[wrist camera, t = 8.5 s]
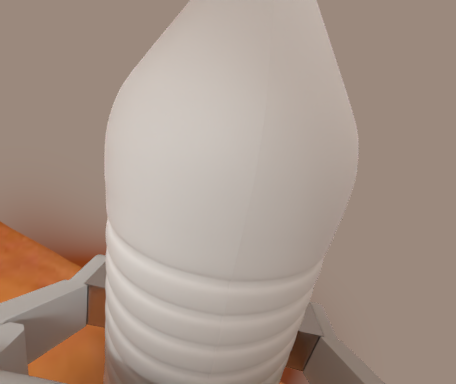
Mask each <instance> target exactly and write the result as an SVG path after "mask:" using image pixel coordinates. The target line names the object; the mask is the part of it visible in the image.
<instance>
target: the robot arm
mask: <svg viewBox="0 0 456 384" xmlns="http://www.w3.org/2000/svg"><path fill="white" fill-rule="evenodd" d="M105 281H106V256H105V255H100V254H99V255H97V256H95V257H94V258H93V259H92V260H91V261H89V262H88V263H87V264H86V265H85V266H84V267H83V268H82V269H81V270H80V271H79V272H78V273H76V274H75V275H74V276H73V277H72V278H71V279H70V280H69V281H68V280H63V281H60V282H57V283H55V284H52V285H49V286H46V287H44V288H41V289H38V290H36V291H33V292H30V293H27V294H25V295H22V296H19V297H17V298H14V299H11V300H8V301H6V302H3V303H0V384H66V383H62V382H57V381H52V380H48V379H43V378H38V377H33V376H29V374H28V364H29V363H31V362H32V361H34V360H35V359H37V358H38V357H40V356H41V355H43V354H44V353H46V352H47V351H49V350H50V349H52V348H53V347H55V346H57V345H58V344H60V343H61V342H63V341H64V340H66V339H67V338H69V337H70V336H72V335H73V334H75V333H76V332H78V331H79V330H81V329H82V328H84V327H85V326H86V324H88V325H93V326H98V327H104V328H105V321H106V317H105V302H106V292H105ZM285 367H287V368H292V369H296V370H299V371H303V374H304V375H305V377H306V378H307V380H308V382H309V383H310V384H385V383H384V382H383V381H382V380H381V379H380V378H379V377H378V376H377V375H376V374H375V373H374V372H373V371H372V370H371V369H370V368H369V367H368V366H367V365H366V364H365V363H364V362H363V361H362V360H361V359H360V358H359V357H358V356H357V355H356V354H354V352H353V351H352V350H351V349H350V348H349V347H347V345H346V344H345V343H343V342H342V341H339V340H338V338H337V336H336V334H335V332H334V330H333V327H332V325H331V324H330V321H329V319H328V317H327V314H326V313H325V310H324V308H323V306H322V305H321V304H319V303H314V302H309V303H308V305H307V307H306V310H305V314H304V317H303V320H302V323H301V325H300V328H299V330H298V332H297V336H296V339H295V342H294V345H293V347H292V349H291V351H290V355H289V358H288V361H287V364H286V366H285Z"/></svg>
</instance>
